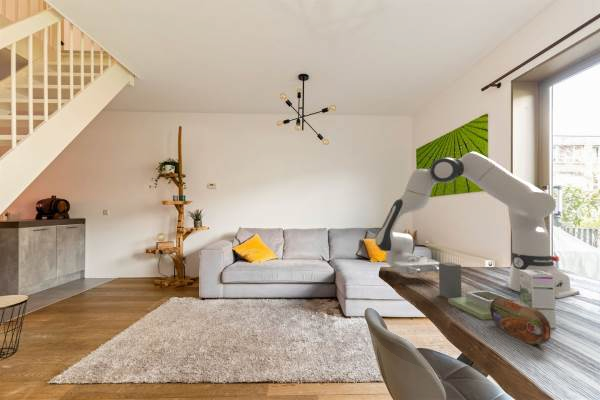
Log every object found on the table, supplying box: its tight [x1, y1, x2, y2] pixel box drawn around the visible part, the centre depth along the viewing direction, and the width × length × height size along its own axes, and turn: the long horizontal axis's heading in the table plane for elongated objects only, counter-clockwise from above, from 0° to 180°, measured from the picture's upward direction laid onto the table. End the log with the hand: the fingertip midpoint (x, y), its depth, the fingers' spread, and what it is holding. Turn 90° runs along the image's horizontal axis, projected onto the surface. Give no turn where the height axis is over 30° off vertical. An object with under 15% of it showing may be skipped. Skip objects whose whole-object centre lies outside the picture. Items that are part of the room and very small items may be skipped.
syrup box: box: [519, 270, 557, 329], centre depth 76 cm, size 6×6×14 cm
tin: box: [490, 298, 552, 345], centre depth 69 cm, size 15×3×8 cm, turn 5°
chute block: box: [438, 262, 463, 300], centre depth 98 cm, size 5×5×12 cm
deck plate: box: [447, 290, 513, 321], centre depth 86 cm, size 16×14×4 cm
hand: (428, 271), depth 110 cm, fingers open, 8 cm apart
